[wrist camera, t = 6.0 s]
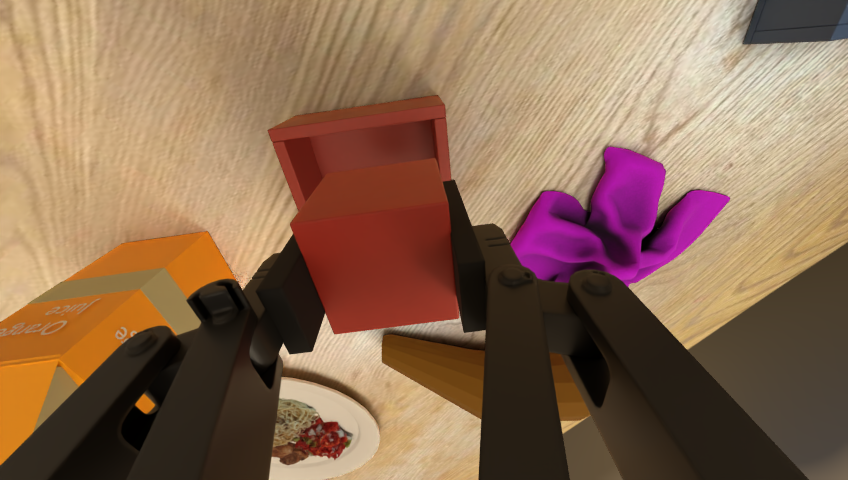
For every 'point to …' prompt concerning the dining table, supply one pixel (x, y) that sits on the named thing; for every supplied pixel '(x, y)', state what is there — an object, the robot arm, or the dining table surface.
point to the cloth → (613, 224)
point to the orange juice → (96, 324)
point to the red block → (380, 246)
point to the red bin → (360, 141)
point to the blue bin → (798, 21)
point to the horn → (468, 374)
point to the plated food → (320, 433)
